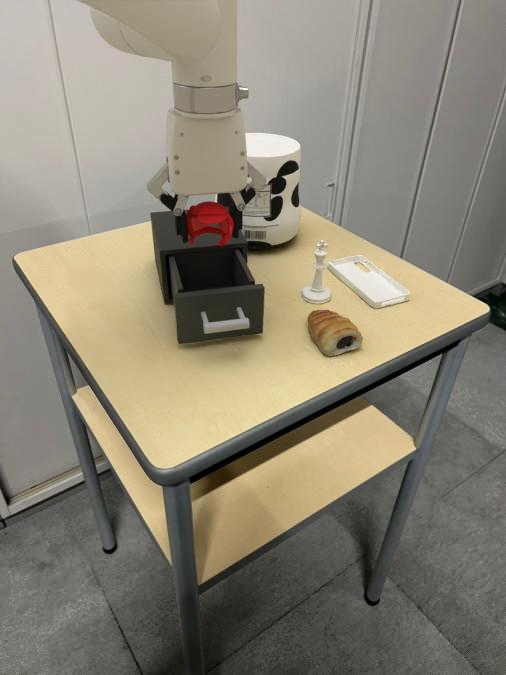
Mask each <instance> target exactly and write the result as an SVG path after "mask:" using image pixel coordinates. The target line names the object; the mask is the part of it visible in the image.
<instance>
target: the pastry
mask: <svg viewBox="0 0 506 675" xmlns="http://www.w3.org/2000/svg"><path fill="white" fill-rule="evenodd" d="M307 322H308V329H309V331H310V336H311V338H312V339H313V341H314V343H315V345H316V346H317V347H318V348H319V350H320V352H321V353H323V354H324V355H325V356H328V357H334V356H339V355H341V354H344V353H345V352H348V351H353V350H357V349H358V348H359V347H361V346H362V343H363V340H364V336H362V333H361V331H359V328H358V327H357V326H356V325H355V323H353V322H351V319H350V318H349V317H343V316H342V315H340V314H339V313H338V312H336V311H333V310H330V309H317V310H312V311H311V312H310V313H309V314H308V316H307Z"/></svg>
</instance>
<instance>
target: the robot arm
mask: <svg viewBox="0 0 506 675" xmlns="http://www.w3.org/2000/svg"><path fill="white" fill-rule="evenodd" d="M75 1H76V2H78V3H81V4H84V5H86V6H88V7H89V12H90V18H91V21H92V24H93V26H94V28H95V30H96V32H97V33H98V35H99V36H100V37H101V38H102V39H103V40H104V41H105V42H106V43H107V44H108V45H109V46H111V47H112V48H113V49H116V50H118V51H121V52H123V53H126V54H130V55H134V56H139V57H144V58H151V59H155V60H156V59H157V60H161V61H165V62H169V63H170V65H171V66H170V68H171V79H172V96H173V97H172V98H173V107H170V108H168V109H167V112H166V123H165V163H164V165H163V166H161V167H160V169H159V170H158V171H157V172H156V173H155V174H154V175H153V176H152V177H151V178H150V179H149V181H148V182H147V183H146V188H147V191H148V192H149V193H150V194H151V195H152V196H153V197H155V198H156V199H157V200H159V201H160V203H161V204H163V206H165V207H166V208H167V209H169V211H172V212H174V217H175V230H176V235H181V238H182V241H183V243H187V242H188V226H187V215H186V213H185V210H186V209H185V207H186V206H187V203H188V200H189V197H190V196H205V195H216V194H219V193H229V194H230V196H231V198H232V200H233V201H232V202H231V203H230V205H229V215H230V216H231V217H232V219H233V222H234V228H233V232H232V236H233V238H239V230H242V225H243V210H244V209H245V208H246V205H247V204H248V203H249V202H250V201H251V200H252V199H253V198H254V196H255V195H256V193H257V191H259V190H260V189H261V188H262V187H263V186H264V184H265V183H266V181H267V180H266V178H265V177H264V176H263V175H262V174H261V173H260V172H259V171H258V170H257V169H256V168H255V167H254V166H253V165H252V164H251V163H250V162H249V161H247V148H246V137H245V133H246V128H245V121H244V116H243V111H242V109H241V107H239V103H240V101H242V100H246V99H247V100H248V99H249V97H250V96H249V95H250V94H249V93H250V92H249V87H248V86H242V85H240V84H239V83H238V77H237V76H238V59H237V58H238V0H75ZM248 175H249V176H250V177H251V178H252V181H251V182H250V184H249V185H247V179H248ZM167 181H168V184H170V189H171V191H172V193H173V196H172V195H171V194H170V193H168V191H166V190H165V189H164V188H163V187H162V186H163V185H165V183H166V182H167ZM246 185H247V186H246ZM241 190H242V191H241ZM239 191H241V192H239Z"/></svg>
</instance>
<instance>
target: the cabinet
mask: <svg viewBox="0 0 506 675" xmlns="http://www.w3.org/2000/svg"><path fill="white" fill-rule="evenodd" d="M225 208H226V209H227V211H228V213H229V208H228V206H226V207H225ZM184 210H185V213H186V214H187V212H188V210H189V209H184ZM150 222H151V223H150V224H151V234H152V242H153V244H152V245H153V254H154V263H155V268H156V271H157V276H158V281H159V285H160V291H161V295H162V299H163V304H164V305H174V303H173V299H172V294H171V285H170V273H169V262H168V255H170V254H180V253H191V252H201V251H211V250H221V249H232V248H239V250H240V252H241V254H242V256H243V258H244V260H245V262H246V264H247V265H248V256H249V255H248V254H249V253H248V249H249V248H248V242H247V240H246V239H245V237H244V235H243V233H242V231H241V230H239V238H233V236H232V235H231V238H230V239H229V241H228V242H227V244H225V245H224V246H222V247H221V246H219V241H220V240H221V239H222V236H221V235H219V234H215V233H204V234H201V235H198V236H196V237H195V239H194V243H193V244H192V245H191V244H190V243H189V240H190V237H191V236H190V235H188V242H187V243H183V241H182V238H181V235H176V230H175V217H174V212H172V211H171V210H165V211H153V212H152V211H151V212H150ZM210 227H216V228H219V225H218V223H217V224H211V226H210ZM219 229H220V228H219Z"/></svg>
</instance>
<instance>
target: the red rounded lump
mask: <svg viewBox="0 0 506 675" xmlns="http://www.w3.org/2000/svg"><path fill="white" fill-rule="evenodd" d="M187 210H188V212H187V214H186V215H187V226H188V235H190V236H191V237H190V240H189V243H190V244H191V245H192V244H193V243H194V239H195V237H196V236H198V235H201V234H204V233H215V234H219V235H221V236H222V239H221V240H220V241H219V246H221V247H222V246H224V245H225V244H227V242H228V241H229V239H230V238H231V235H232V232H233V228H234V222H233V219H232V217H231V216H230V215H229V213H228V211H227V209H226V208H225V207H224V206H223V205H221V204H219V203H217V202H214V201H211V200H208V201H202V202H199V203H197V204H195V205H194V204H193V205H190V207H189V208H188V209H187ZM217 223H218V225H219V228H220V229H219V228H216V227H210V226H211V224H217Z"/></svg>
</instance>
